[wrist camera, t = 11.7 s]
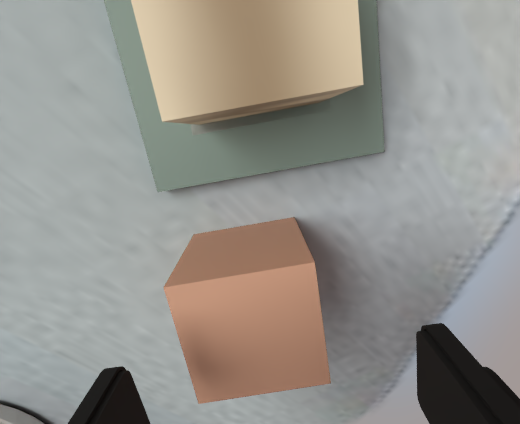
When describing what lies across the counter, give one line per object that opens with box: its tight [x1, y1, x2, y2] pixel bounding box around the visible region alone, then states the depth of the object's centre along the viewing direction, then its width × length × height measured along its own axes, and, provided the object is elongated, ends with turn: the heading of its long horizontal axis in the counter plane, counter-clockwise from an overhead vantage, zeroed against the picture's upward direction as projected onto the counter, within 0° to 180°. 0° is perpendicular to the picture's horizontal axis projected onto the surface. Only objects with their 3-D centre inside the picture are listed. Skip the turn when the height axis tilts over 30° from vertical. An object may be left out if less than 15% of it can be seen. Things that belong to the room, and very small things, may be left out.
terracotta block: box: [164, 217, 331, 404], centre depth 15 cm, size 6×6×6 cm
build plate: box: [104, 0, 384, 192], centre depth 14 cm, size 12×12×1 cm
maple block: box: [131, 0, 364, 125], centre depth 11 cm, size 6×6×6 cm
